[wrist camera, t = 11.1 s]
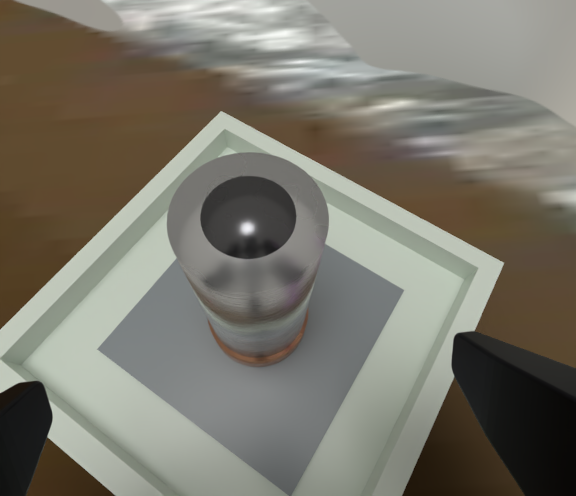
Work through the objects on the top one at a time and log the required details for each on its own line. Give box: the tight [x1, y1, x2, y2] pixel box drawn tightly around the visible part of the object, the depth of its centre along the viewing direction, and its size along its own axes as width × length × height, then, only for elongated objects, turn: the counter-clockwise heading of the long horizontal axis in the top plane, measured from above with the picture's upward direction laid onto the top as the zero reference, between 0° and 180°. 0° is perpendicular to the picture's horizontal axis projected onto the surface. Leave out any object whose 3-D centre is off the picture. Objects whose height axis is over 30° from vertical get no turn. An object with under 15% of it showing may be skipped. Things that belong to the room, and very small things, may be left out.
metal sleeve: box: [167, 152, 329, 367], centre depth 15 cm, size 5×5×10 cm
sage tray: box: [0, 111, 504, 496], centre depth 20 cm, size 18×18×2 cm
